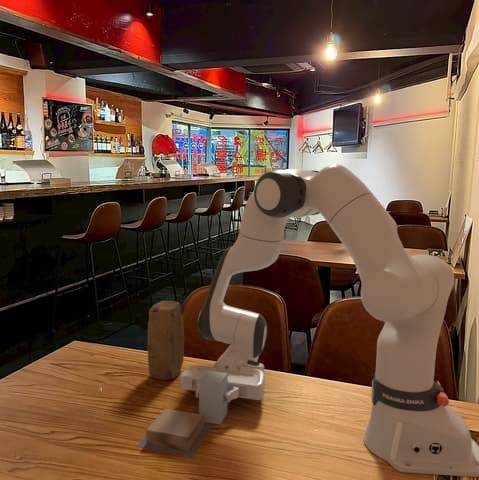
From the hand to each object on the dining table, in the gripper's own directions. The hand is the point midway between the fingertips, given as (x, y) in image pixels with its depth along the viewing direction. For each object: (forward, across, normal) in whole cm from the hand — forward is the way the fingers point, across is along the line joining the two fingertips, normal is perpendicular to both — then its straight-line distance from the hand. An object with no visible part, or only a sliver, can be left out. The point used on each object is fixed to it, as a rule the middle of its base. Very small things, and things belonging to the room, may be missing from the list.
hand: (212, 397), depth 105 cm
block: (-19, -20, +6) cm, 28 cm away
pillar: (-1, 0, +6) cm, 6 cm away
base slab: (+9, -5, +5) cm, 11 cm away
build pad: (+9, -5, +6) cm, 11 cm away
